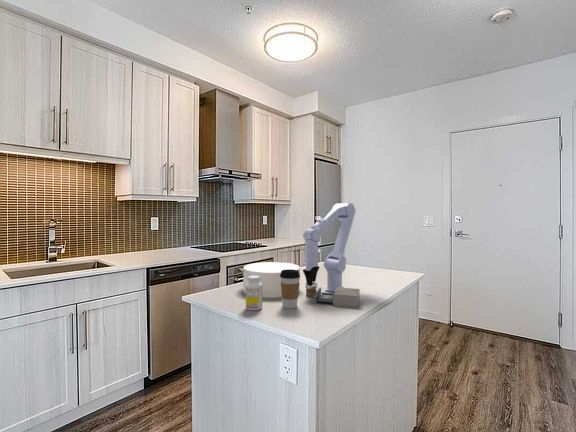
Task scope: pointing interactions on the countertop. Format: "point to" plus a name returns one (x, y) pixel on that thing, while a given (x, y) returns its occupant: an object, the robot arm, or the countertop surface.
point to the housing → (346, 297)
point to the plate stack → (268, 276)
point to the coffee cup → (289, 287)
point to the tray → (323, 296)
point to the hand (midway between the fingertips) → (311, 283)
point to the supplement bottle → (253, 293)
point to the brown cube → (310, 292)
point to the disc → (312, 286)
